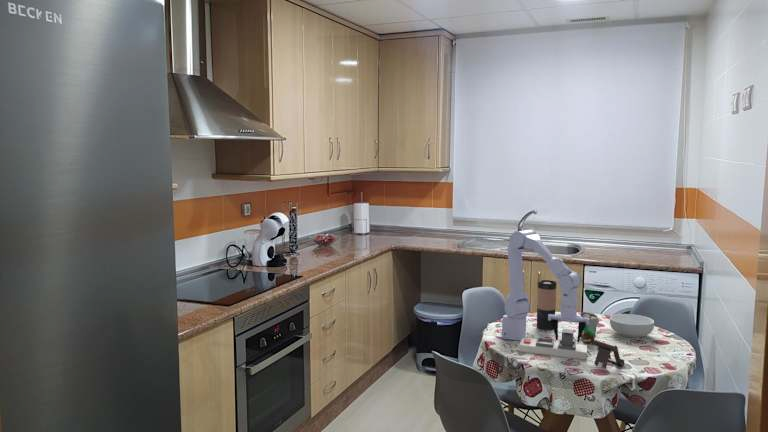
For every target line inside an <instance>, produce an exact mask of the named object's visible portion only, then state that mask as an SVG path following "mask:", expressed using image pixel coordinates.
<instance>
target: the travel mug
mask: <svg viewBox="0 0 768 432" xmlns="http://www.w3.org/2000/svg"><path fill="white" fill-rule="evenodd" d="M536 300H537V301H536V328H537V329H539V330H542V331H554V330H553V327H552V325H551V321H549V320H548V314H556V308H557V307H556V305H557V303H556V302H557V282H556V281H554V280H548V279H542V280H540V281H538V283H537V299H536Z"/></svg>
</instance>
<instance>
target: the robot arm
mask: <svg viewBox="0 0 768 432" xmlns="http://www.w3.org/2000/svg"><path fill="white" fill-rule="evenodd" d="M508 239H509V244H508V247H507V263H508V264H507V265H508V278H509V293H508V294H507V296H506V297H505V304H504V312H505V314H503V316H502V322H501V323H502V324H501V339H504V340H513V341H520V342H521V340H522V338H528V336H529V335H528V334H527V316H528V314H529V312H530V311H531V308H532V307H531V303H530V300H529V295H528V294H527V293H526V292H525V285H524V270H523V269H524V268H523V253H524V252H525V251H526V250H527V249H529V250H533V251H535V253H537V254H538V256H540V257H541V259H543V260H544V261H545V262H546V263H547V269H548V270H549V271H550V272H551V273H552V274H553V276H555V278H556V279H557V280H558V285H559V287H560V291H561V293H560V294H561V295H560V297H561V298H560V299H561V300H560V314H559V313H558V314H556V313H555V314H548V320H549V321H551V325H552V327H553V330H552V331H553V332H554V335H555V336H554V337H555V341H559V322H565V323H566V322H568V323H576V324H577V323H578V327H577V328H578V329H577V331H578V333H577V341H576V344H580V341H581V334H582V332H583V330H584V328H585V326H586V324H589V318H585V317H581V315H580V316H578V315H577V314H578V292H579V288H578V287H580V286H581V285H582V277H581V276H580V274H579V273H578V272H576V271H573V270H572V269H571V268H569V267H568V266H567V265H566V263H564V260H563V259H562V258H560V257H555V256H554V255H553V253H552V252H551V251H550V250H549V248H548V247H547V246H546V245H545V244H544V242H543V241H542V240H541V236H540V235H539V234H538V233H537V231H536V230H535V229H532V228H530V229H526V230H515V231H514V232H512V233H511V234H510V235H509V238H508Z"/></svg>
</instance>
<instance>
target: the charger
mask: <svg viewBox="0 0 768 432" xmlns="http://www.w3.org/2000/svg"><path fill="white" fill-rule="evenodd" d="M574 332H575V331H574V329H573V328H562V329H561V340H562V342H561V345H563V346H572V347H573V341H574Z"/></svg>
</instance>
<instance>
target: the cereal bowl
mask: <svg viewBox="0 0 768 432" xmlns="http://www.w3.org/2000/svg"><path fill="white" fill-rule="evenodd" d="M609 325H610V327H611V329H612V330H613V331H614V332H615V333H616V334H619V335H621V336H622V337H624V338H628V339H641V338H642V337H645V336H648V335H649V334H651V333H652V332H653V330H654V328H655V320H654V319H652V318H651V317H648V316H644V315H639V314H631V313H618V314H616V313H615V314H613V315H611V316H609Z"/></svg>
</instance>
